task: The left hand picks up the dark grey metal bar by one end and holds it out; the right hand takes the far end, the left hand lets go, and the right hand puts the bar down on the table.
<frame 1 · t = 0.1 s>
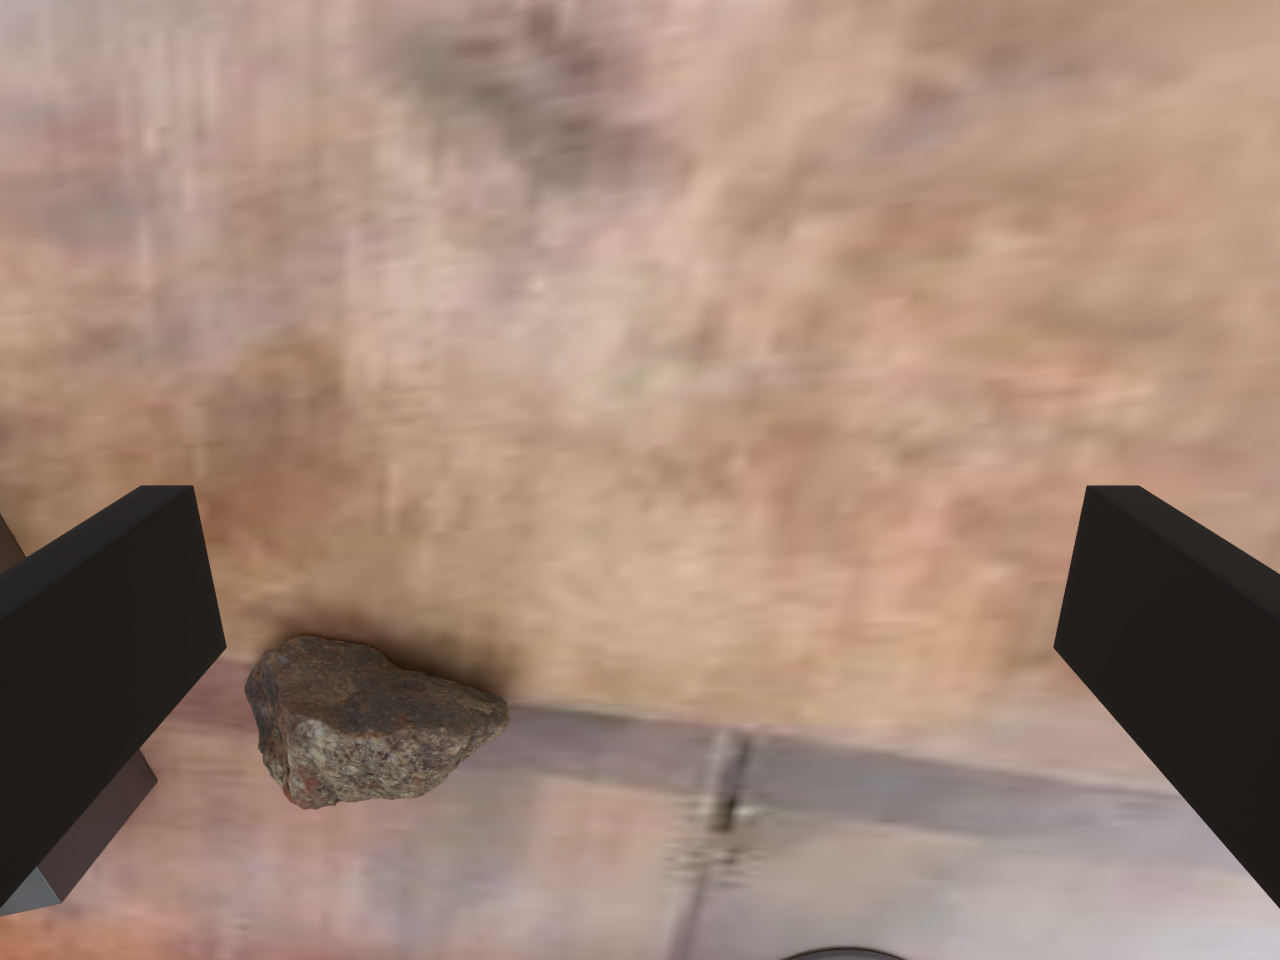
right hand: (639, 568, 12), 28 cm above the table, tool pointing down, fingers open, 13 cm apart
bar: (9, 620, 45), on the table
rock: (380, 694, 46), on the table
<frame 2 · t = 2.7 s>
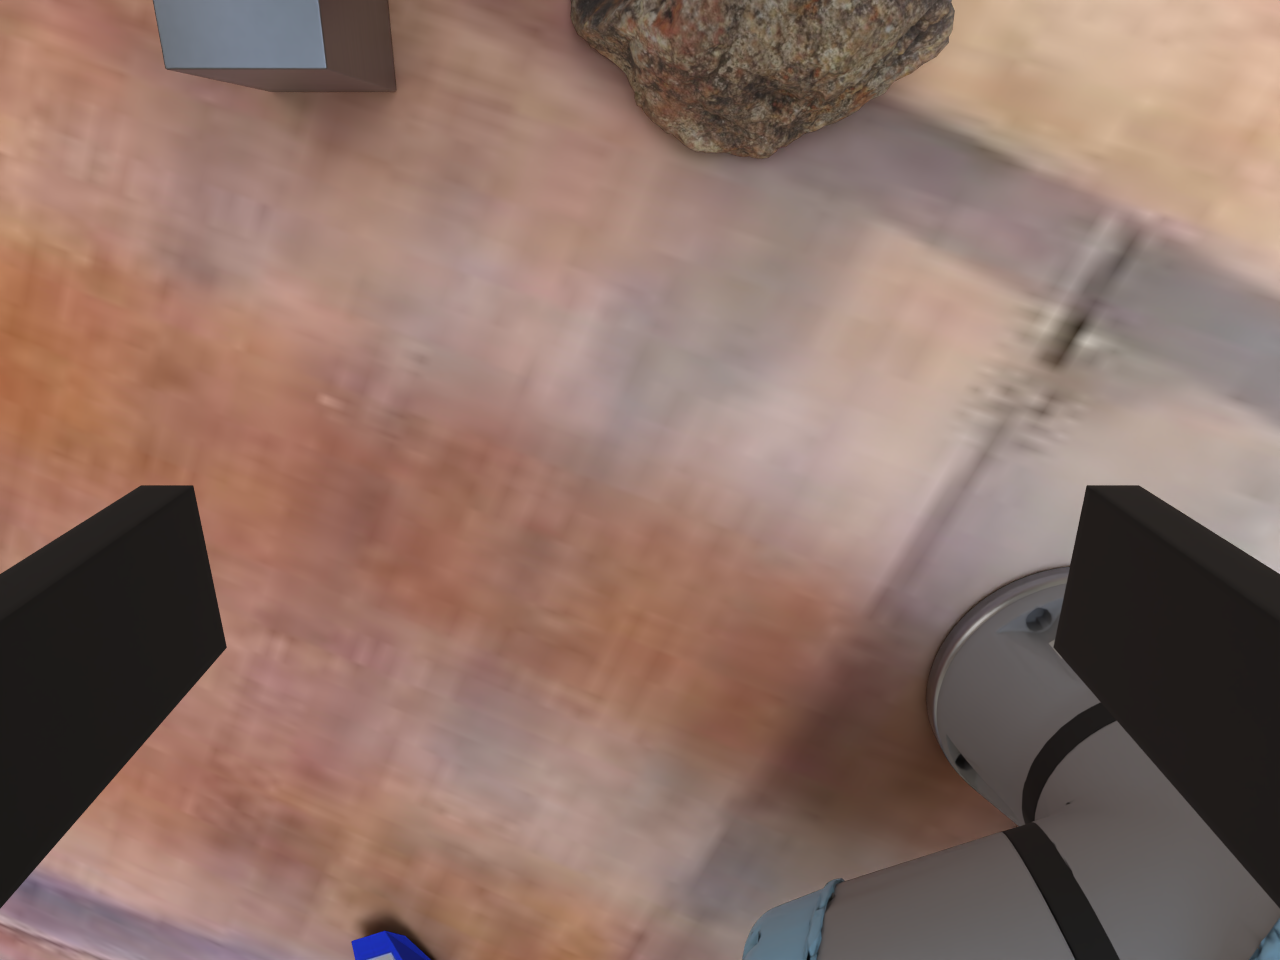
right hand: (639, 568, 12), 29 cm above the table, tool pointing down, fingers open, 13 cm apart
rock: (734, 33, 36), on the table
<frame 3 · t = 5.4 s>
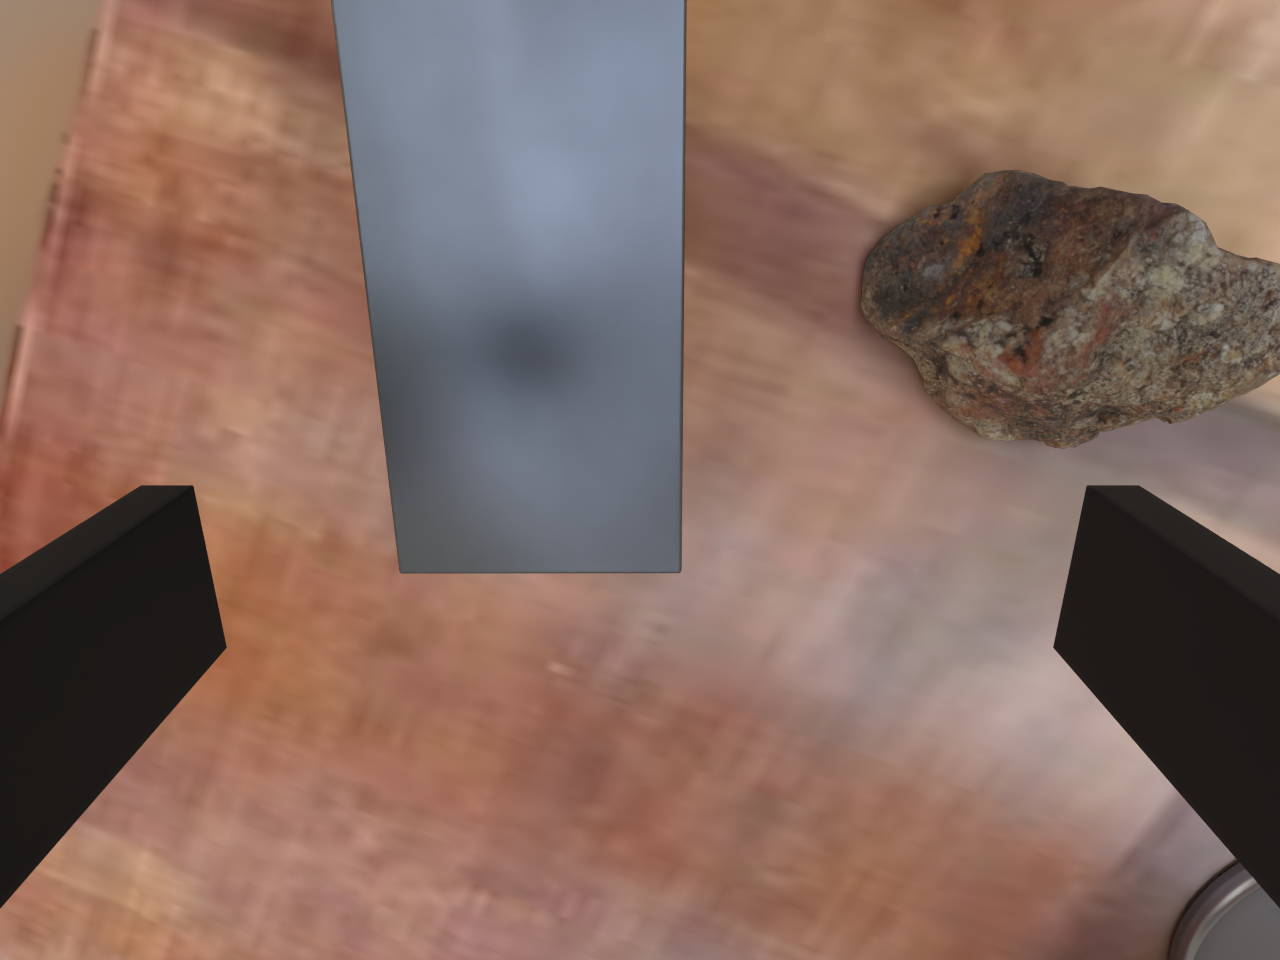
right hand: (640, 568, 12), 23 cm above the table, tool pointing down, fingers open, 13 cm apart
rock: (1032, 317, 33), on the table
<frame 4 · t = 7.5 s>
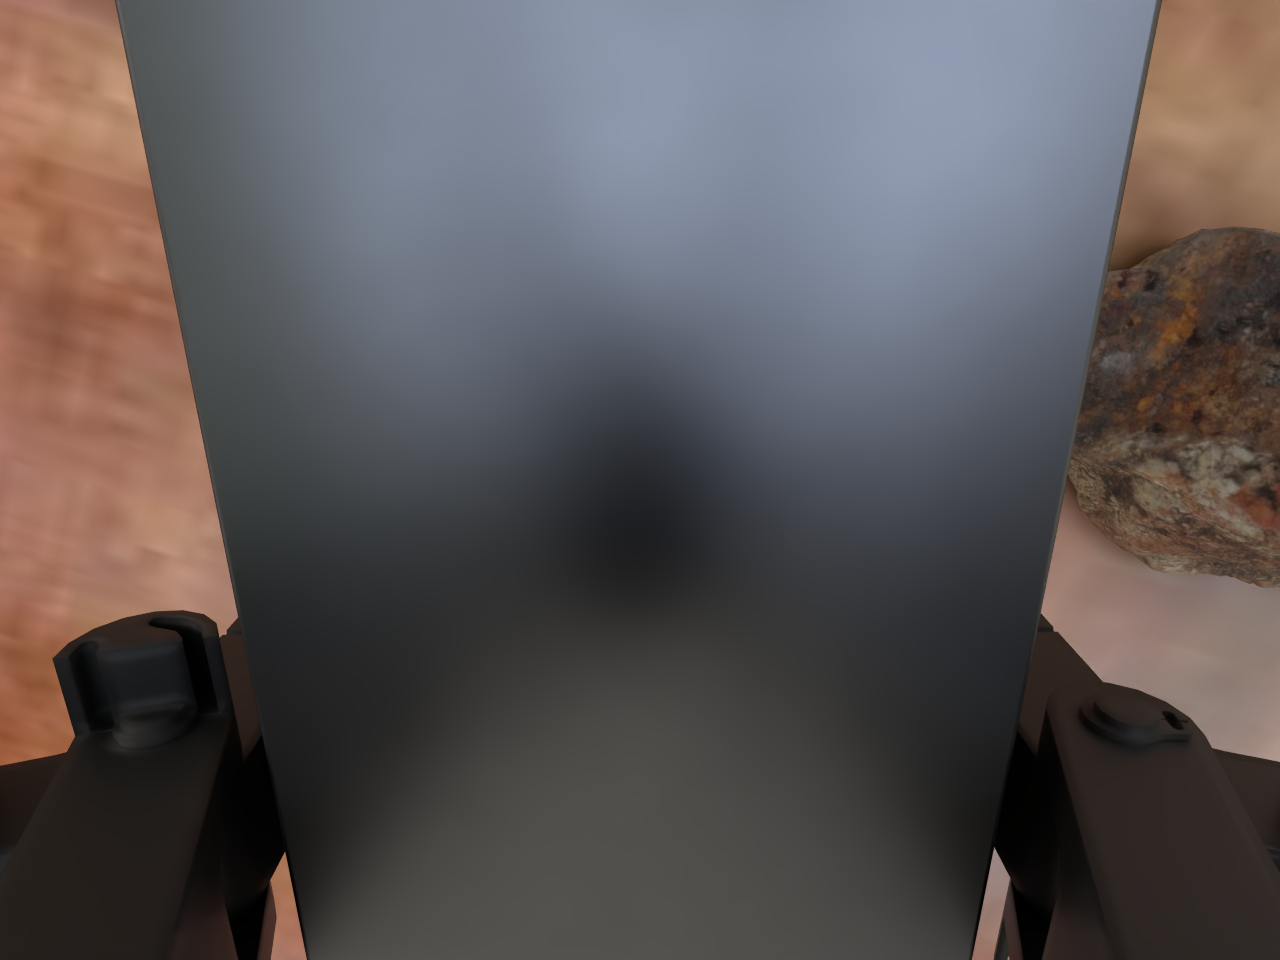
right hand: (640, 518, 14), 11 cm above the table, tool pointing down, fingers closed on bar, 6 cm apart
rock: (1223, 410, 25), on the table
when the left hand's fingers open (15 cm above the table, at t = 8.3 s): bar stays where it is, held by the right hand.
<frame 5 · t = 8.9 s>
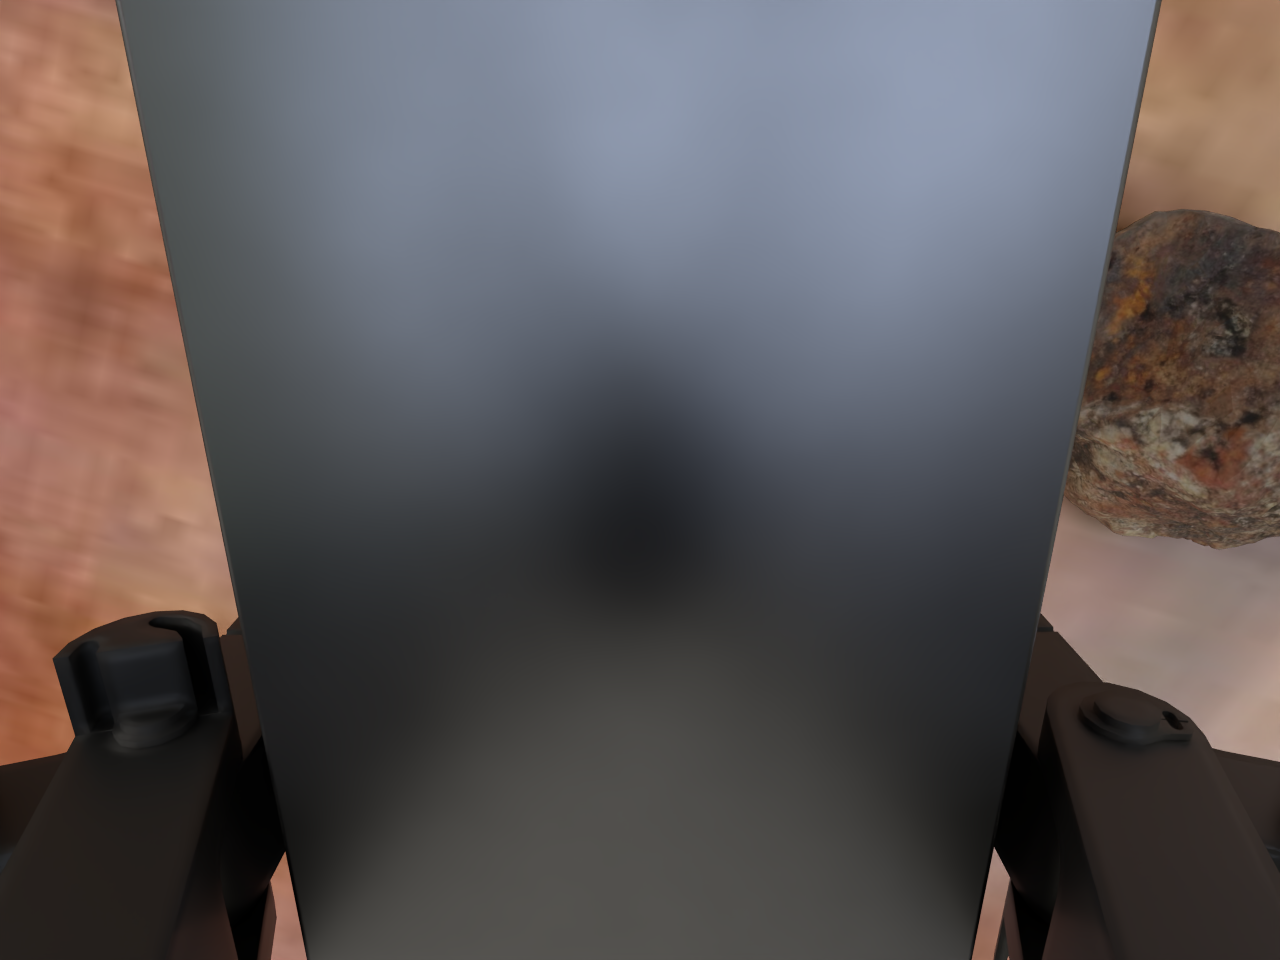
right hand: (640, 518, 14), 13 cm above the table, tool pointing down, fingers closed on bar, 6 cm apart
rock: (1181, 383, 27), on the table
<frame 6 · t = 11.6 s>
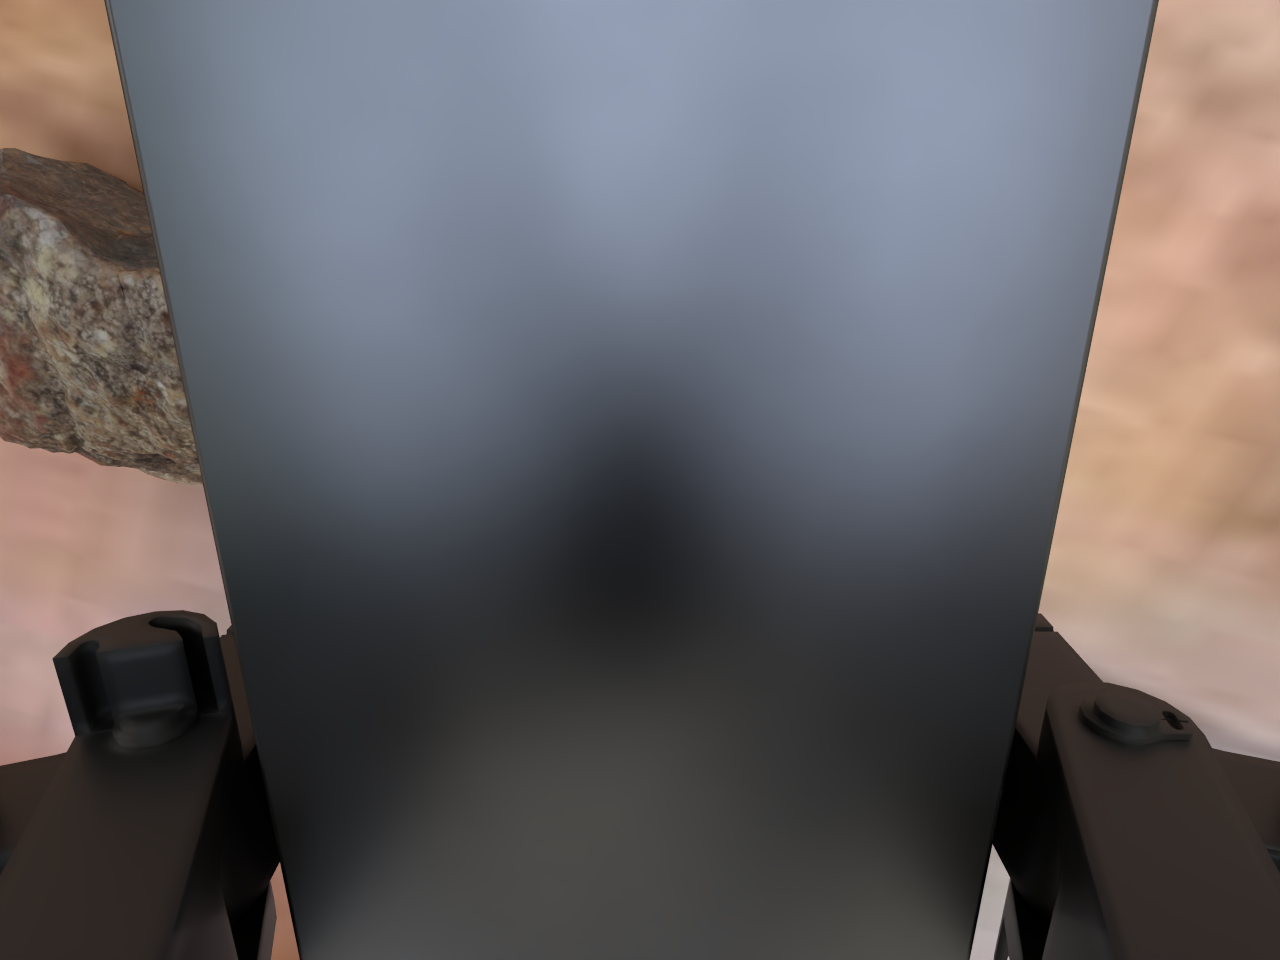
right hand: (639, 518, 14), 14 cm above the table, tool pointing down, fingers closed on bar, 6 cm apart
rock: (215, 330, 27), on the table
when the right hand's fingers open (2 cm above the table, at t = 15.8 s): bar drops 2 cm, on the table.
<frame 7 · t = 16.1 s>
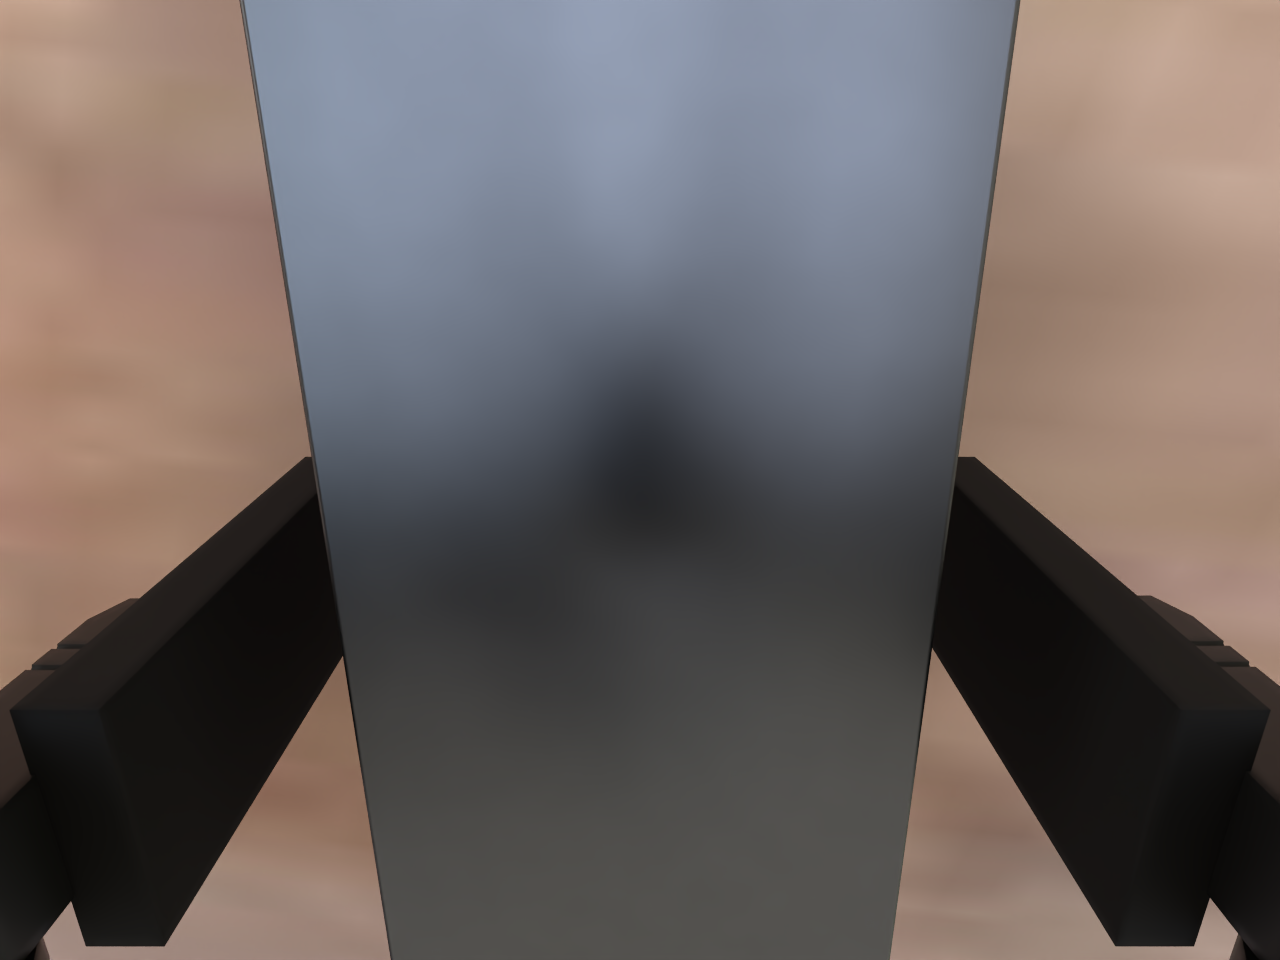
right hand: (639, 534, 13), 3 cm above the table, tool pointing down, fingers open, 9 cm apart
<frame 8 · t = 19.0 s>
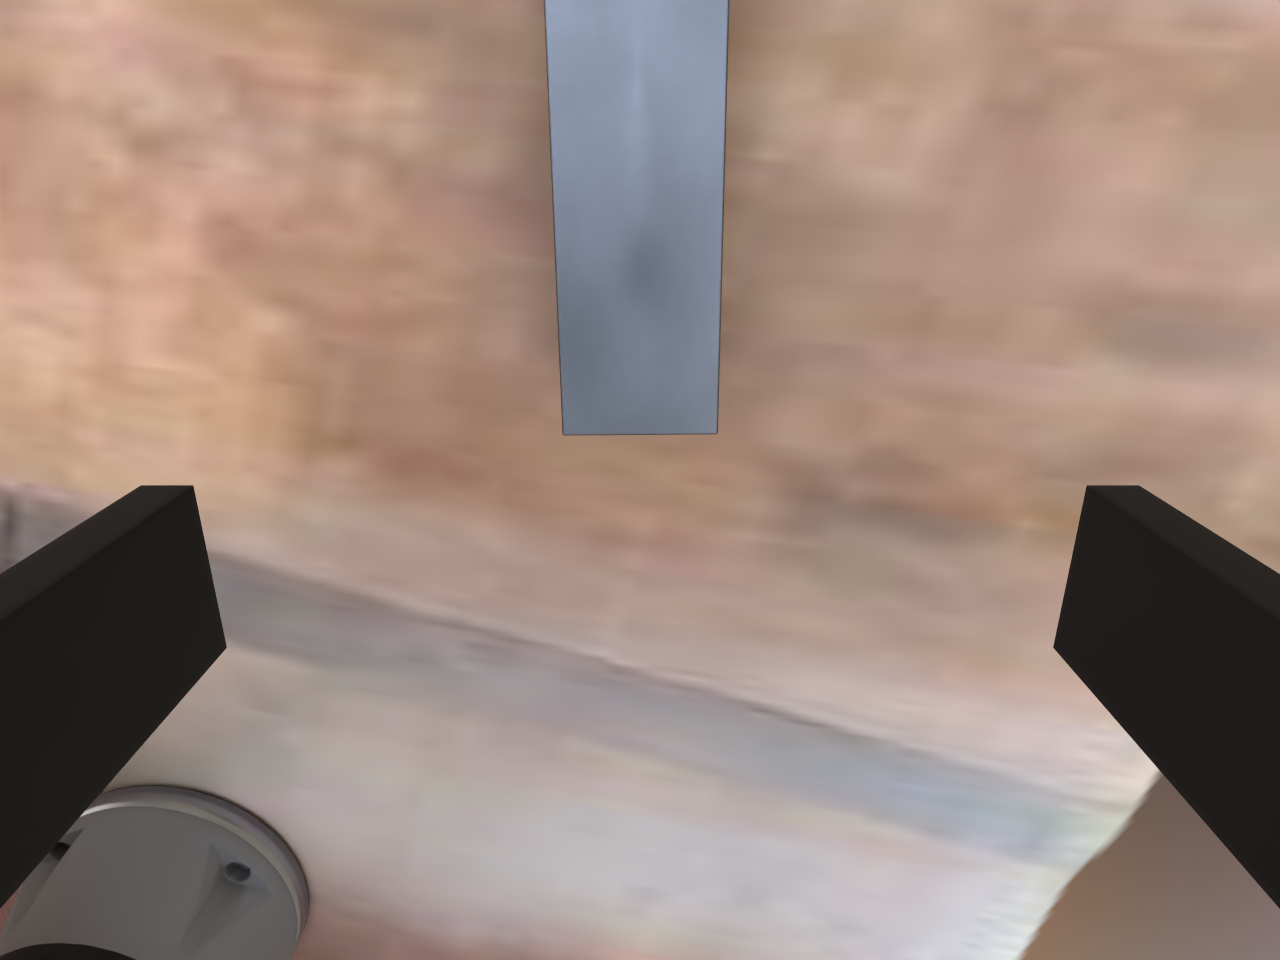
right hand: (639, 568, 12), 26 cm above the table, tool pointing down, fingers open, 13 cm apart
bar: (637, 91, 34), on the table
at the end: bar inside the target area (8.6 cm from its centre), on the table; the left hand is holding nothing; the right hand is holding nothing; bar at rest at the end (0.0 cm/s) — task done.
